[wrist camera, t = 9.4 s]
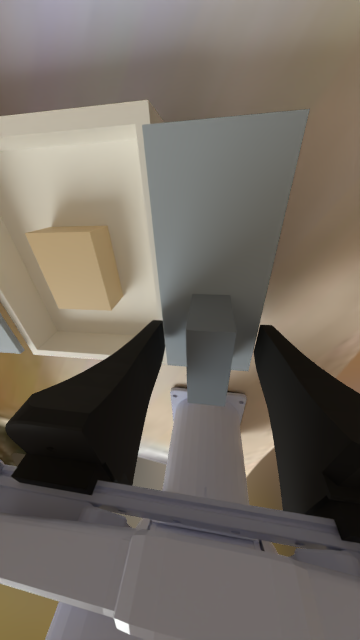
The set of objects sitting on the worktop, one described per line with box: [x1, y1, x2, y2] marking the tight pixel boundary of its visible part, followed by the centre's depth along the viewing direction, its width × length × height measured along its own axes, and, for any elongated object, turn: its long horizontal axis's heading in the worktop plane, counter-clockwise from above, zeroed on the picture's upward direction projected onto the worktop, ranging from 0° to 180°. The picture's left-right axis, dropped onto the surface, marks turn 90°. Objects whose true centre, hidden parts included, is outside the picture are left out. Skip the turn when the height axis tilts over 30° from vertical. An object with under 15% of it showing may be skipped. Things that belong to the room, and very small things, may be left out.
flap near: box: [142, 109, 310, 407], centre depth 9 cm, size 12×6×4 cm, turn 2°
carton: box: [0, 100, 167, 365], centre depth 13 cm, size 14×12×3 cm
